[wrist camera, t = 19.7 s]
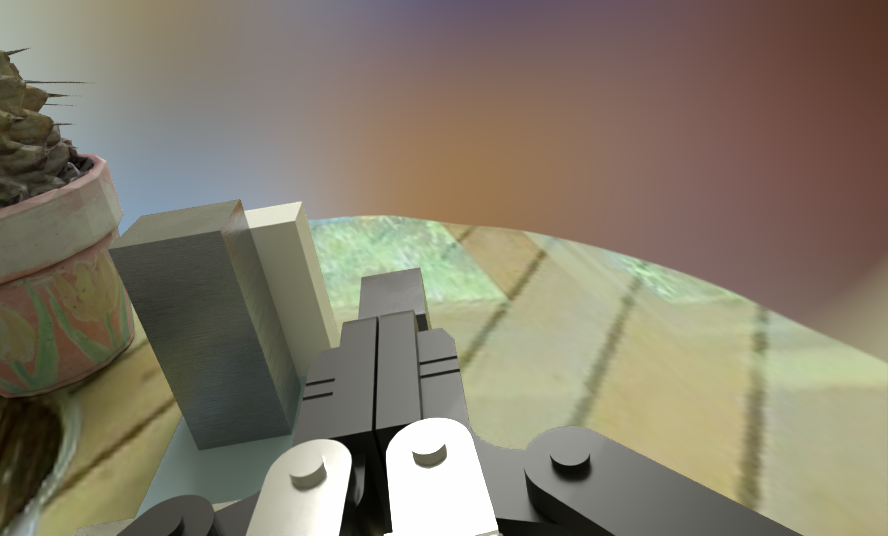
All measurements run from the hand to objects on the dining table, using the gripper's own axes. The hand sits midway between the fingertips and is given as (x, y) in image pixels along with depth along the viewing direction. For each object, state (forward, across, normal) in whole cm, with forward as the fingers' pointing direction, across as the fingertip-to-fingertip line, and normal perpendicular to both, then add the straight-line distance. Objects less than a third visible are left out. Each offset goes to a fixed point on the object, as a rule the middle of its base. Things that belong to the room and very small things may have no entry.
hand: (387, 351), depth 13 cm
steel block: (+16, +11, +13) cm, 24 cm away
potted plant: (+29, +28, +14) cm, 43 cm away
